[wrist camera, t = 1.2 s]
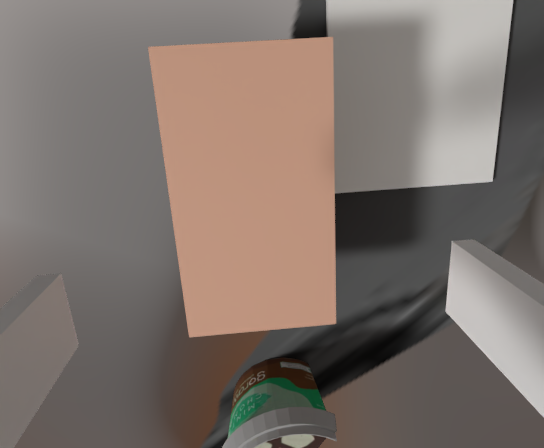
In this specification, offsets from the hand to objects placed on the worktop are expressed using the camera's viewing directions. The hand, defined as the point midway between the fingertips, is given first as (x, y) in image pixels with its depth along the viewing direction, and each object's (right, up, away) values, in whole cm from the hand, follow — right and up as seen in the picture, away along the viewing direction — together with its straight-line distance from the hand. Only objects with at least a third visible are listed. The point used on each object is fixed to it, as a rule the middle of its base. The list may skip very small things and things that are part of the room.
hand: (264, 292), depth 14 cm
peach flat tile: (-1, +5, +14) cm, 14 cm away
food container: (-1, -14, +26) cm, 29 cm away
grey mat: (+11, +16, +17) cm, 26 cm away
